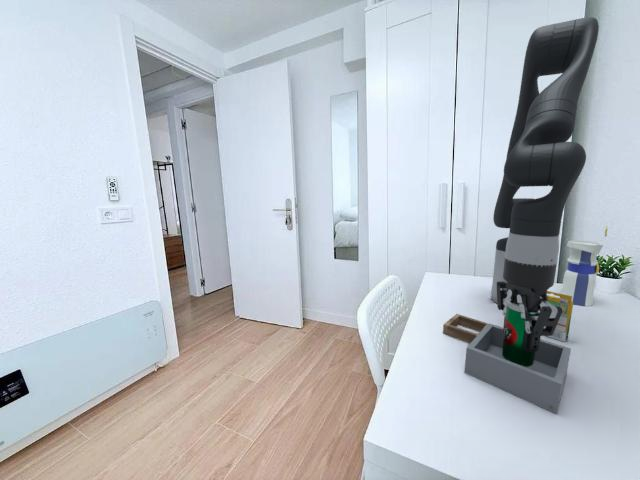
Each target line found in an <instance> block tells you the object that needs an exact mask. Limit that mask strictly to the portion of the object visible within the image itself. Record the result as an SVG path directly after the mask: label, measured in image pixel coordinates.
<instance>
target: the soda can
mask: <svg viewBox="0 0 640 480" xmlns="http://www.w3.org/2000/svg"><path fill="white" fill-rule="evenodd" d="M509 302H510V303H509V304H508V305H507V308H506V318H505V317H504V318H505V328H504V338H503V348H502V356H503V357H504V359H505V360H508V361H510V362H513V363H516V364H518V365H521V366H524V367H529V366H532V365H533V364H534V358H535V352H526V351H525V350H524V349H523V340H524V333H525V324H524V320H523V319H521V312H520V307H519V304H518V303H516V302H515V301H513V302H511V301H509ZM528 315H529V316H537V315H538V312H536V313H528ZM535 324H536V320H532V327H534V326H535Z"/></svg>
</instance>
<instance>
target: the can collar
mask: <svg viewBox="0 0 640 480" xmlns="http://www.w3.org/2000/svg"><path fill="white" fill-rule="evenodd" d="M488 324H489V323H488V322H484V321H481V320H478V319H474V318H471V317H469V316H467V315H466V316H465V315H462V314H460V313H459V314H458V313H456V314H455V315H452V317H451V318H449V319H448V320H447V321H446V322H445V323H443V327H442V334H444V335H446V336H448V337H452V338H453V339H456V340H459V341H461V342H462V341H463V342H465V343H466V344H467V343H468V344H470V343H471V342H472V341H473V340H474V339H475V338H476V337H477V336H478V335H479V333H480V332H481V331H482V330H483V329H484V328H485V327H486V326H487V325H488ZM458 326H460V327H458ZM461 326H462V327H465V328H467V329H470V330H473V331H476V332H478V333H476V332H472V331H469V330H466V329H464V328H461Z"/></svg>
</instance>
